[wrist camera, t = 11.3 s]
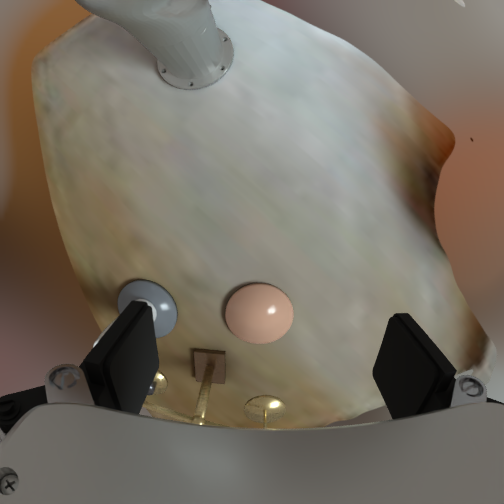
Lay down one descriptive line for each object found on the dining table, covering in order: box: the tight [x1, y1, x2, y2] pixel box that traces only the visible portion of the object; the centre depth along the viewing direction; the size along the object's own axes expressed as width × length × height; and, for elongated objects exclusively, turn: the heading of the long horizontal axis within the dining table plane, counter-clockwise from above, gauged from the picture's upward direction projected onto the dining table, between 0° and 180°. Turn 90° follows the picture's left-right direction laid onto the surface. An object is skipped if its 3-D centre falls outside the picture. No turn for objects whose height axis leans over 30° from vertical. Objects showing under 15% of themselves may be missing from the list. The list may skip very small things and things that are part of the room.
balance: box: [142, 348, 285, 429], centre depth 46 cm, size 8×29×18 cm, turn 87°
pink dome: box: [225, 283, 293, 344], centre depth 50 cm, size 12×12×1 cm
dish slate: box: [118, 280, 178, 338], centre depth 50 cm, size 12×12×1 cm
